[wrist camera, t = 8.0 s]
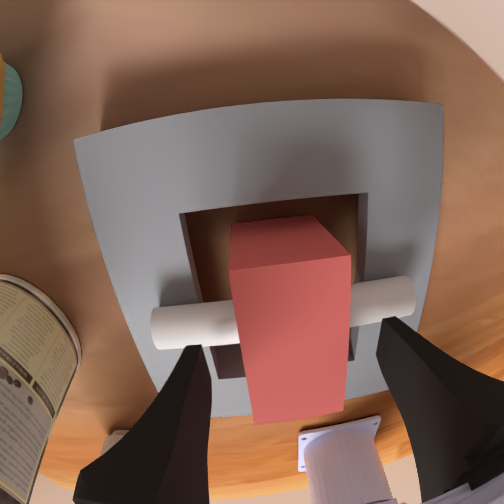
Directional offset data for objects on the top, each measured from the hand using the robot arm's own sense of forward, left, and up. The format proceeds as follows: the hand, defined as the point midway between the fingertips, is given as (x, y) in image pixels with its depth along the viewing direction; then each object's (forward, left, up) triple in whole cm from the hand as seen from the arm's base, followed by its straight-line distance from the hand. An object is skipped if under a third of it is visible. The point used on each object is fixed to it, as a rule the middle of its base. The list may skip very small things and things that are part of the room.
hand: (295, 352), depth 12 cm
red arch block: (0, 0, -5) cm, 5 cm away
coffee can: (-3, +19, -7) cm, 20 cm away
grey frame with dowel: (0, 0, -6) cm, 6 cm away
